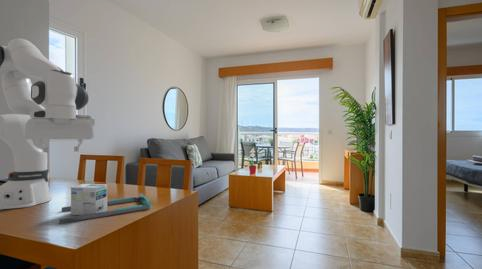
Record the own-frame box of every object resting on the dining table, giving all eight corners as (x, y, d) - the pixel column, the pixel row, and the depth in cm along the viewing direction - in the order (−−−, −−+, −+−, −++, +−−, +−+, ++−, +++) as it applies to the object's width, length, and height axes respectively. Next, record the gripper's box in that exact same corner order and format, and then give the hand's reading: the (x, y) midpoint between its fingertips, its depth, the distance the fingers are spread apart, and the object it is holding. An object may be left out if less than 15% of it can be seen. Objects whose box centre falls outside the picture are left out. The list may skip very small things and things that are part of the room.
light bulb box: (107, 210, 96) (108, 183, 96) (96, 216, 90) (96, 187, 89) (83, 209, 97) (83, 183, 97) (69, 215, 91) (69, 186, 91)
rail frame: (59, 223, 82) (59, 215, 82) (61, 211, 95) (61, 203, 95) (150, 208, 99) (150, 201, 99) (142, 199, 112) (142, 193, 112)
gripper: (94, 116, 97) (93, 150, 97) (26, 113, 85) (26, 152, 85) (95, 115, 92) (94, 151, 92) (23, 112, 80) (23, 153, 80)
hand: (61, 151), depth 88 cm, fingers open, 8 cm apart
